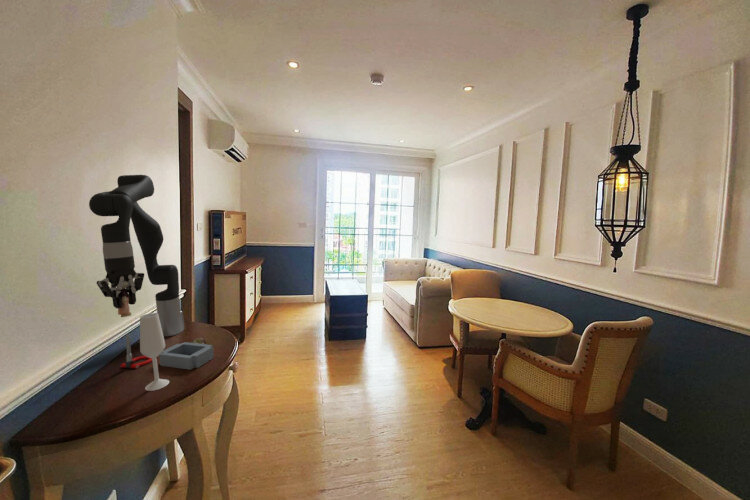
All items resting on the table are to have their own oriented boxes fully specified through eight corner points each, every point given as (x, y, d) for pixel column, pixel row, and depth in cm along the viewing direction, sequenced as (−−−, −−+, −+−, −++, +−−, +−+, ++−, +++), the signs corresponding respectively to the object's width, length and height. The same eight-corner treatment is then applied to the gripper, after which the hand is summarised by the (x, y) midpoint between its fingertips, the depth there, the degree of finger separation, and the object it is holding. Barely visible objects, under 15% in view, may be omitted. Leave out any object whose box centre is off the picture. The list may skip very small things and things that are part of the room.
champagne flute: (139, 390, 98) (130, 318, 95) (157, 378, 104) (149, 312, 101) (157, 391, 97) (149, 319, 94) (174, 379, 103) (166, 312, 100)
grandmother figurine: (116, 314, 103) (111, 278, 101) (130, 311, 106) (125, 276, 104) (121, 319, 98) (115, 281, 96) (135, 316, 101) (130, 279, 99)
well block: (182, 352, 125) (181, 341, 124) (216, 356, 120) (215, 345, 120) (157, 365, 114) (156, 353, 114) (193, 370, 110) (192, 358, 109)
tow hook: (141, 357, 122) (118, 368, 113) (138, 326, 121) (115, 334, 112) (159, 358, 120) (137, 369, 111) (157, 327, 119) (135, 335, 110)
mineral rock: (187, 338, 133) (206, 332, 134) (191, 347, 134) (210, 340, 135) (177, 350, 123) (197, 343, 124) (181, 359, 123) (201, 352, 125)
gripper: (132, 252, 107) (138, 299, 109) (85, 258, 93) (93, 312, 96) (148, 252, 105) (154, 300, 107) (103, 259, 92) (110, 313, 94)
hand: (125, 305), depth 101 cm, fingers closed on grandmother figurine, 3 cm apart
